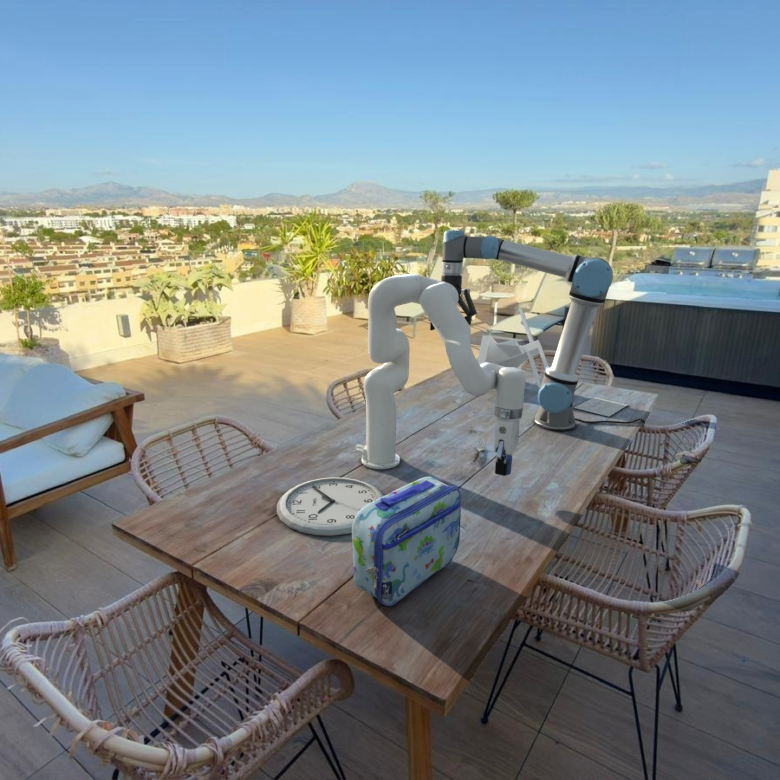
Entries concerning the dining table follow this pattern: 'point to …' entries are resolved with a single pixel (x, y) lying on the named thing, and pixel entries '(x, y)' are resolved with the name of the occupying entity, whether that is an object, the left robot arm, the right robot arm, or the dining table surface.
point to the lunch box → (405, 538)
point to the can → (508, 464)
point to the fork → (479, 450)
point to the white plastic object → (512, 351)
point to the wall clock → (325, 505)
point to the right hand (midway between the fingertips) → (448, 331)
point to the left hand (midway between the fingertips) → (503, 470)
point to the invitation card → (601, 406)
